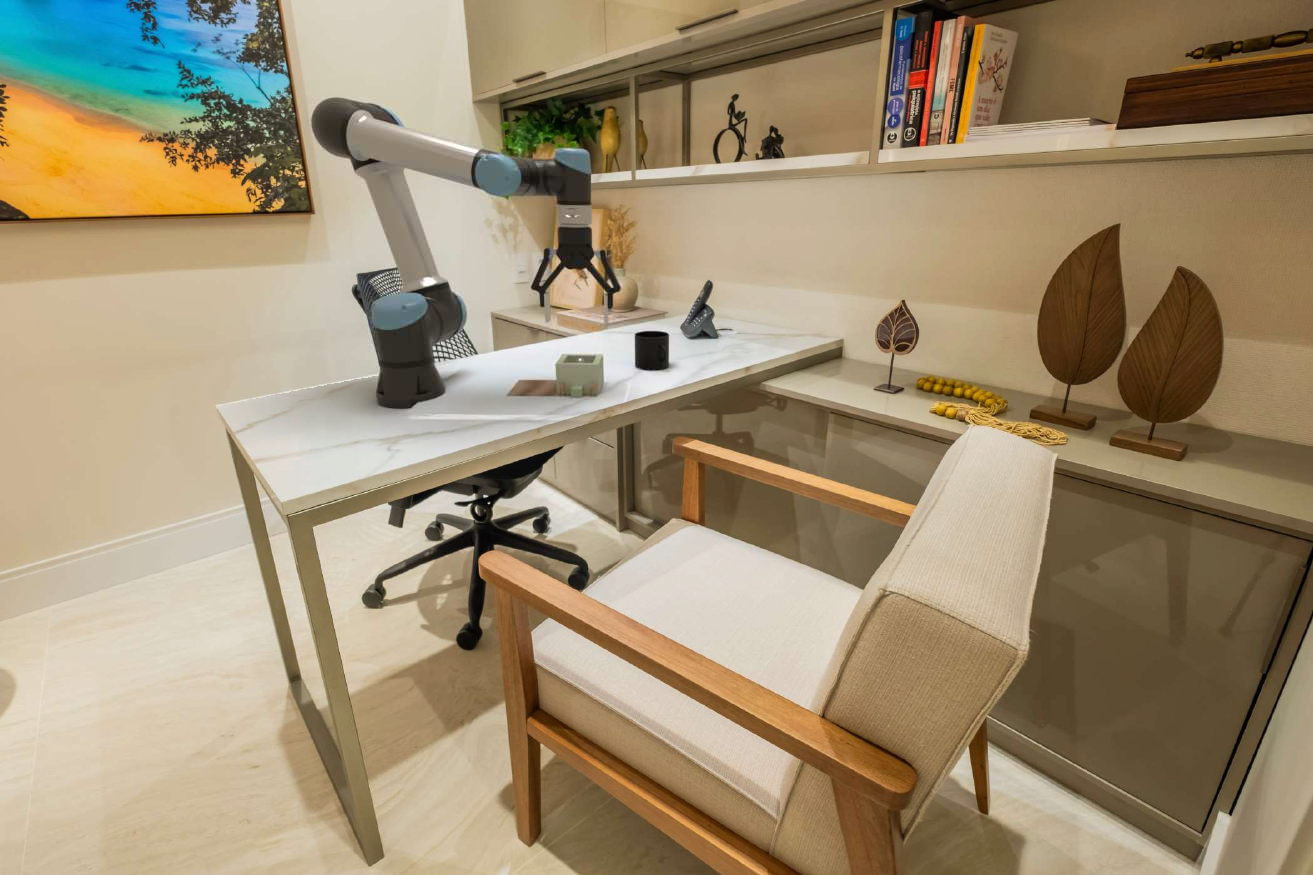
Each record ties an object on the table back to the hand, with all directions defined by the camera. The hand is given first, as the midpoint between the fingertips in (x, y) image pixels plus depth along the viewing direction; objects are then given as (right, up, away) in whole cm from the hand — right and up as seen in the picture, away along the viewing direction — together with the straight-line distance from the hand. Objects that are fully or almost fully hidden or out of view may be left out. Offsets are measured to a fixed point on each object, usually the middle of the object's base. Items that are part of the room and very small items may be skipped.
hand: (577, 322), depth 146 cm
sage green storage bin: (0, -15, +4) cm, 16 cm away
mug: (+18, -8, +28) cm, 34 cm away
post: (0, -15, +6) cm, 16 cm away
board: (-6, -16, +6) cm, 18 cm away
